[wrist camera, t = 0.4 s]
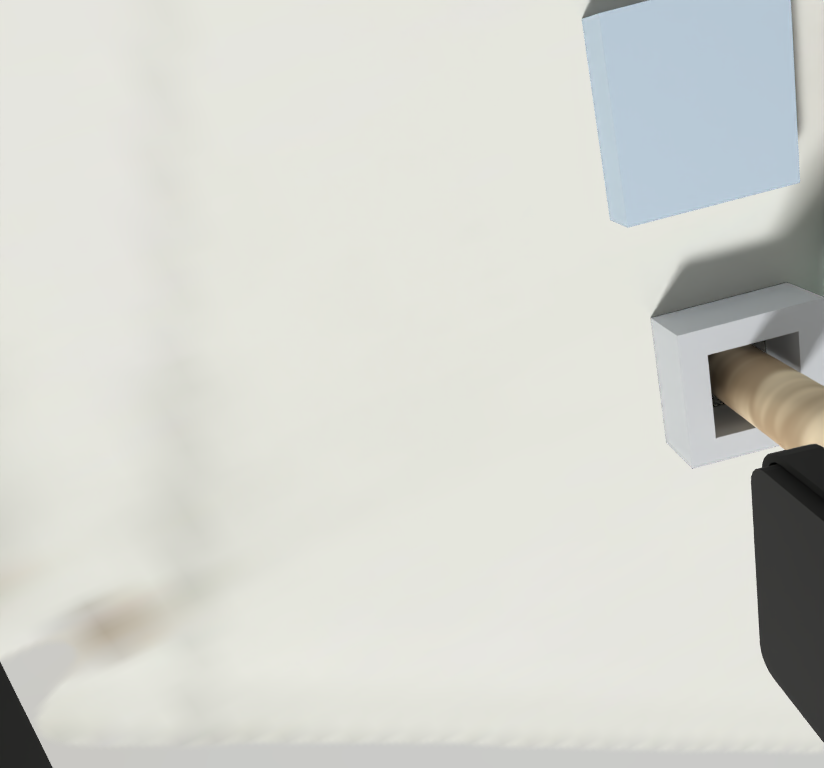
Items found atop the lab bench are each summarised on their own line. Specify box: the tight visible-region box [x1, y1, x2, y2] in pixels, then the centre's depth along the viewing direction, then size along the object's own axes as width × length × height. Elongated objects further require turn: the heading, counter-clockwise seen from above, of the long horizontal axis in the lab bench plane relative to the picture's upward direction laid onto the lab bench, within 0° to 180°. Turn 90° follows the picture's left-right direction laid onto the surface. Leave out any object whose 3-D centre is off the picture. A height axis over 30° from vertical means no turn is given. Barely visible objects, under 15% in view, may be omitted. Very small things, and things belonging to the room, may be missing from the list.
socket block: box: [651, 282, 824, 469], centre depth 43 cm, size 8×8×4 cm
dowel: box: [708, 344, 824, 450], centre depth 39 cm, size 4×4×12 cm
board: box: [582, 0, 800, 227], centre depth 38 cm, size 10×9×3 cm
